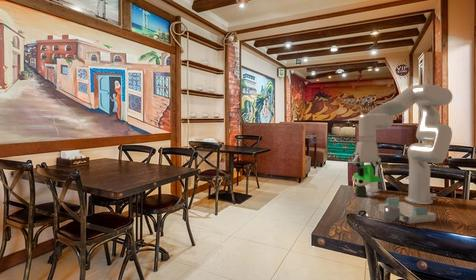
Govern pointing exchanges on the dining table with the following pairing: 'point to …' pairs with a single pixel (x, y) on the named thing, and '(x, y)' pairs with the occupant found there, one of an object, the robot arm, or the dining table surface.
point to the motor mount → (405, 212)
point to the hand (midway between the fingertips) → (366, 175)
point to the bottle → (373, 185)
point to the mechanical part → (368, 174)
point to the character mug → (360, 186)
